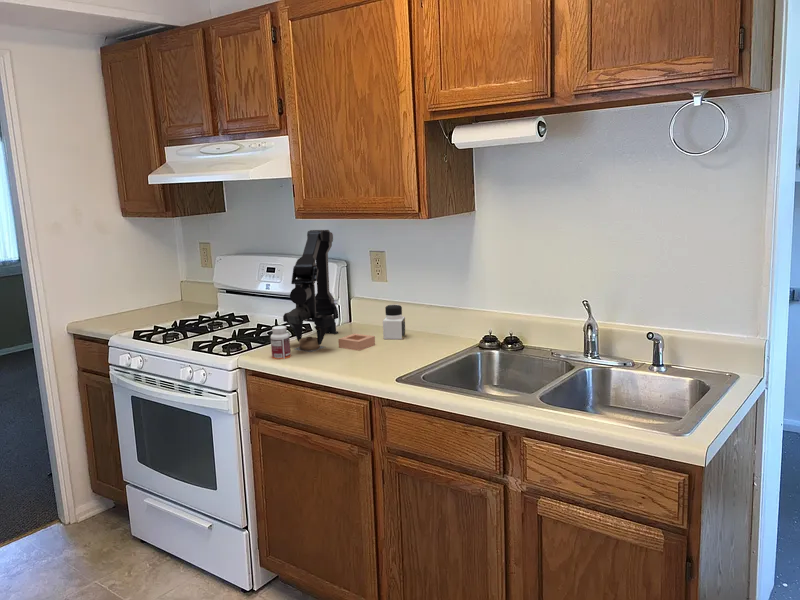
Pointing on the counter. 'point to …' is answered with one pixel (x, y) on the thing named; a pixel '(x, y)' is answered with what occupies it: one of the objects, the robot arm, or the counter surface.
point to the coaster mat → (310, 350)
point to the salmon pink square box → (356, 341)
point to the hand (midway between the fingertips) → (309, 342)
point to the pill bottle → (280, 343)
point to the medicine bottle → (393, 323)
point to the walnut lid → (308, 343)
